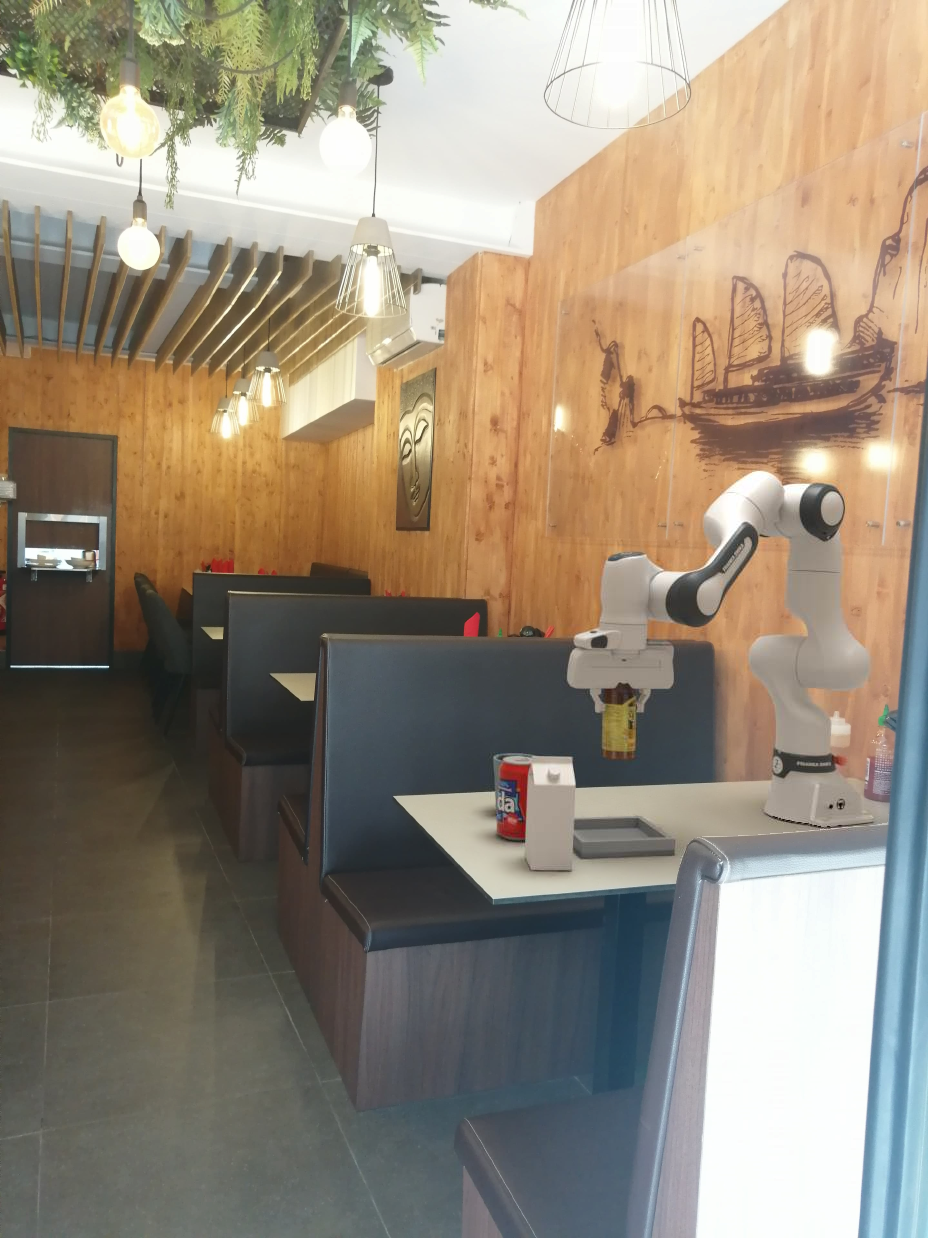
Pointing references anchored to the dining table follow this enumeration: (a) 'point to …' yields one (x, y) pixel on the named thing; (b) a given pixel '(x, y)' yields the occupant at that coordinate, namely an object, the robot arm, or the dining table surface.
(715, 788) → the dining table surface
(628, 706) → the sauce bottle
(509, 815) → the soda can
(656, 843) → the tray
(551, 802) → the milk carton
